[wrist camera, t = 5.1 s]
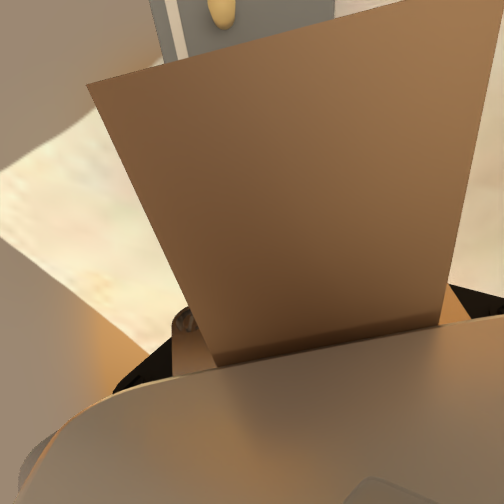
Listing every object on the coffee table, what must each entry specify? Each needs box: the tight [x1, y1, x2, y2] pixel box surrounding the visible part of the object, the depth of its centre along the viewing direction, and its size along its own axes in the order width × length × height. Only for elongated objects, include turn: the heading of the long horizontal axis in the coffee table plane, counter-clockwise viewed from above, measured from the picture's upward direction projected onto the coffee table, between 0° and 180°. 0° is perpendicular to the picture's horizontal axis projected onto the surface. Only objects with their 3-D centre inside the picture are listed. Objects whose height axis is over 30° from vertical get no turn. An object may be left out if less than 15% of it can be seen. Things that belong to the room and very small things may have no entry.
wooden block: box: [86, 0, 504, 367], centre depth 10 cm, size 4×14×8 cm, turn 12°
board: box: [149, 0, 335, 64], centre depth 24 cm, size 13×28×6 cm, turn 8°
